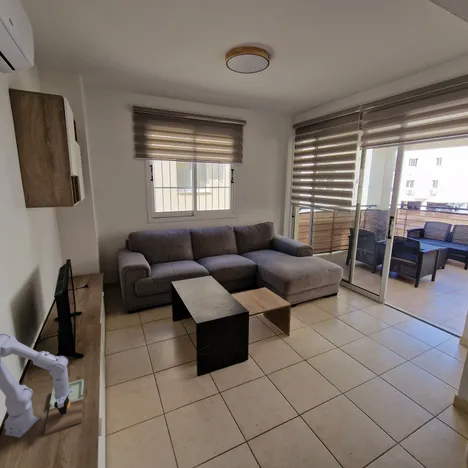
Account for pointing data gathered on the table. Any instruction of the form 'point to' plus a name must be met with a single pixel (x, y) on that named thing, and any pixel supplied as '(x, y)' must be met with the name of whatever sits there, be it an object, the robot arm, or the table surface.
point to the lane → (64, 417)
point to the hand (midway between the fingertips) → (64, 409)
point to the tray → (73, 395)
